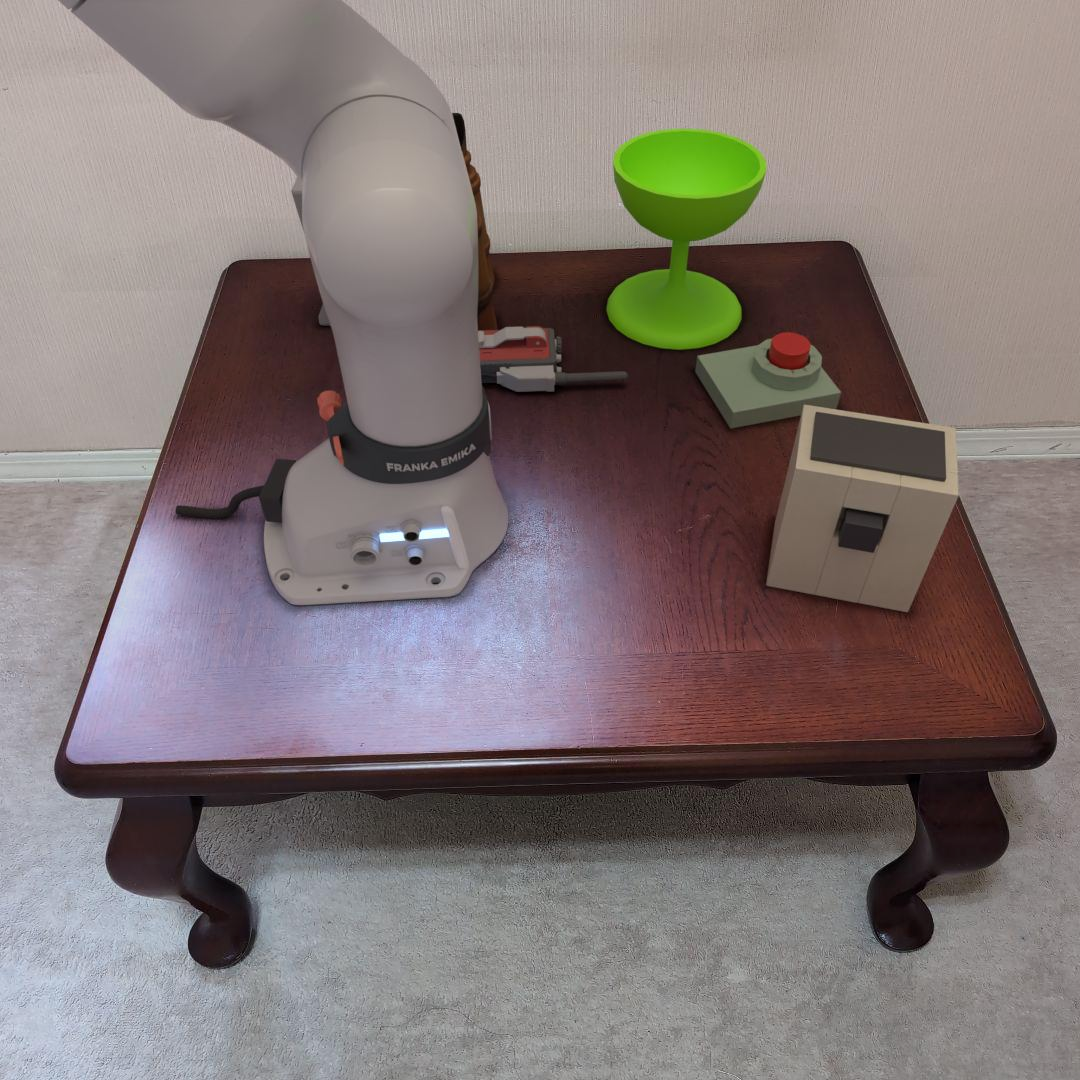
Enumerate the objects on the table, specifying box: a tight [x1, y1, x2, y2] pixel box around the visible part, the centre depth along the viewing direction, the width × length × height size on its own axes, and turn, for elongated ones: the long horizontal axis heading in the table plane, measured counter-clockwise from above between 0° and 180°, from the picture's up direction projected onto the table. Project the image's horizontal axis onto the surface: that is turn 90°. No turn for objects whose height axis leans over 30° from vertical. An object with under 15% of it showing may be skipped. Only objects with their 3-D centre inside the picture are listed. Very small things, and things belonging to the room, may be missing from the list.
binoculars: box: [452, 112, 498, 331], centre depth 106 cm, size 18×8×20 cm, turn 4°
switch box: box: [694, 338, 842, 429], centre depth 100 cm, size 12×10×4 cm
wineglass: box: [605, 127, 768, 351], centre depth 106 cm, size 16×16×18 cm
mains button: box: [768, 331, 812, 370], centre depth 99 cm, size 4×4×2 cm
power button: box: [838, 508, 883, 553], centre depth 75 cm, size 3×2×3 cm
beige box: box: [765, 405, 960, 613], centre depth 79 cm, size 12×8×14 cm, turn 75°
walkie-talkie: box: [478, 325, 629, 393], centre depth 103 cm, size 9×4×20 cm
